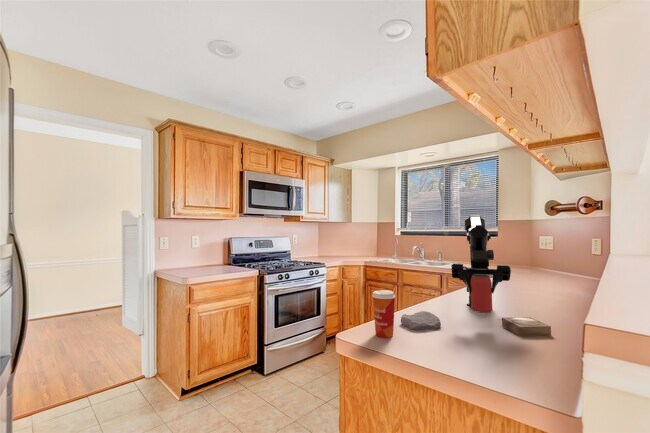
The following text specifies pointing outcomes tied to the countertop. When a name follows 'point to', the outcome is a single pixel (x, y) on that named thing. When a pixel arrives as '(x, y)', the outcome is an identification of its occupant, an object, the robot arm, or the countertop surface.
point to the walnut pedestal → (526, 326)
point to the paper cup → (384, 313)
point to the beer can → (481, 293)
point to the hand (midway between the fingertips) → (481, 292)
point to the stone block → (421, 321)
